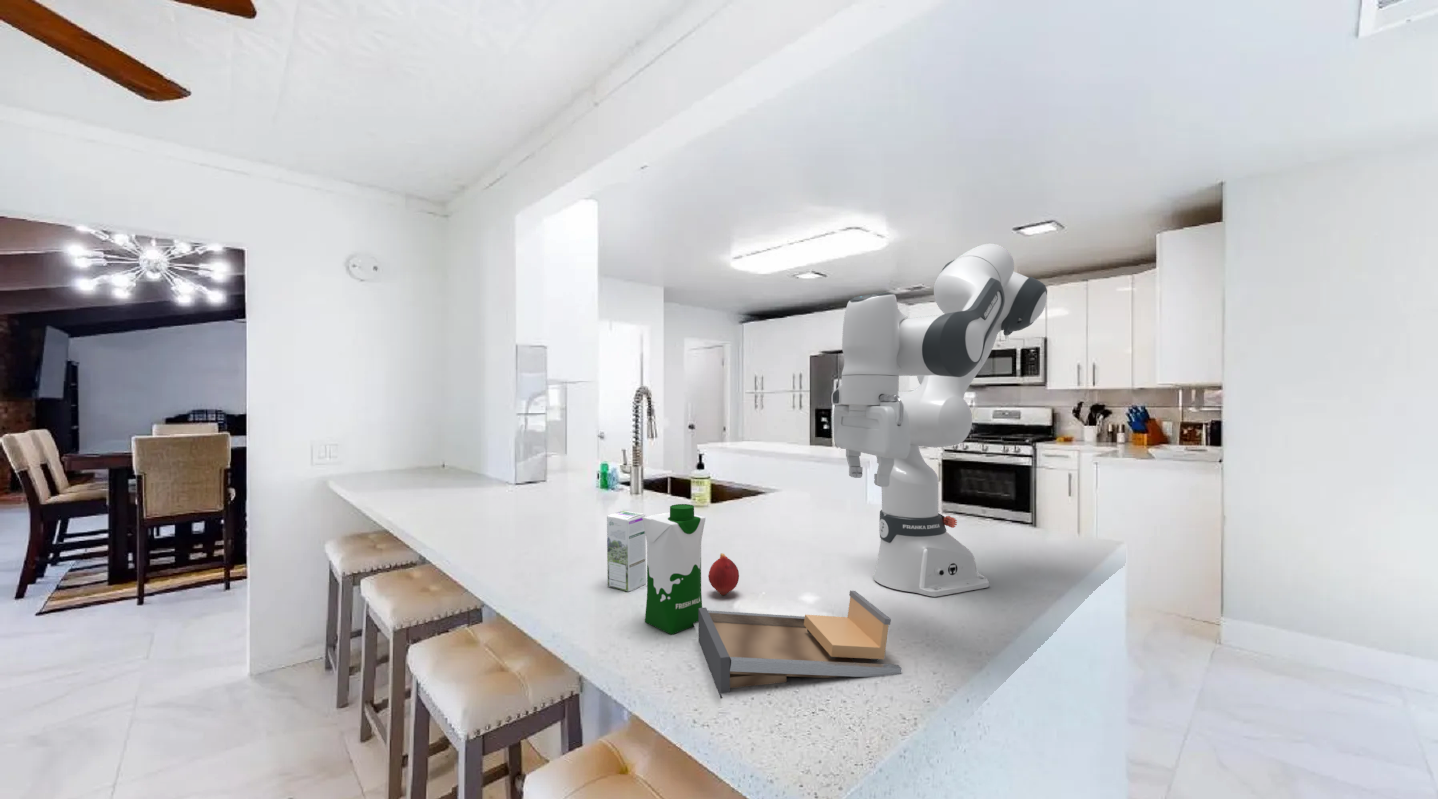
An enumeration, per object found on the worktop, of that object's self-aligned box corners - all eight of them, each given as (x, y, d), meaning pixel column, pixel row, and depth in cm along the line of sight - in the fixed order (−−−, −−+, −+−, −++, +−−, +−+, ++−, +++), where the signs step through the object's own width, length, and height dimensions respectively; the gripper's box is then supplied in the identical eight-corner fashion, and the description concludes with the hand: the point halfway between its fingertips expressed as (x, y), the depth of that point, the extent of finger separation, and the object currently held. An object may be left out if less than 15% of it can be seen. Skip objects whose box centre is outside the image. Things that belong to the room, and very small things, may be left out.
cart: (854, 631, 92) (855, 590, 92) (890, 665, 80) (890, 618, 80) (803, 635, 90) (803, 593, 90) (832, 671, 79) (832, 623, 79)
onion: (739, 590, 112) (739, 549, 112) (737, 601, 107) (737, 558, 106) (710, 589, 113) (710, 548, 113) (706, 599, 107) (706, 557, 107)
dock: (848, 632, 95) (848, 596, 94) (901, 684, 78) (901, 640, 78) (698, 646, 90) (698, 608, 89) (720, 704, 73) (720, 657, 73)
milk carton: (670, 638, 90) (670, 512, 90) (636, 622, 97) (636, 504, 97) (711, 622, 97) (710, 504, 96) (676, 608, 103) (676, 497, 103)
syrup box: (647, 584, 116) (647, 512, 116) (627, 592, 111) (627, 518, 111) (625, 579, 119) (625, 509, 119) (605, 587, 114) (605, 514, 114)
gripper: (922, 394, 81) (920, 491, 81) (861, 395, 101) (859, 473, 101) (881, 393, 80) (879, 492, 80) (827, 394, 100) (826, 473, 100)
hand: (868, 481), depth 91 cm, fingers open, 8 cm apart
